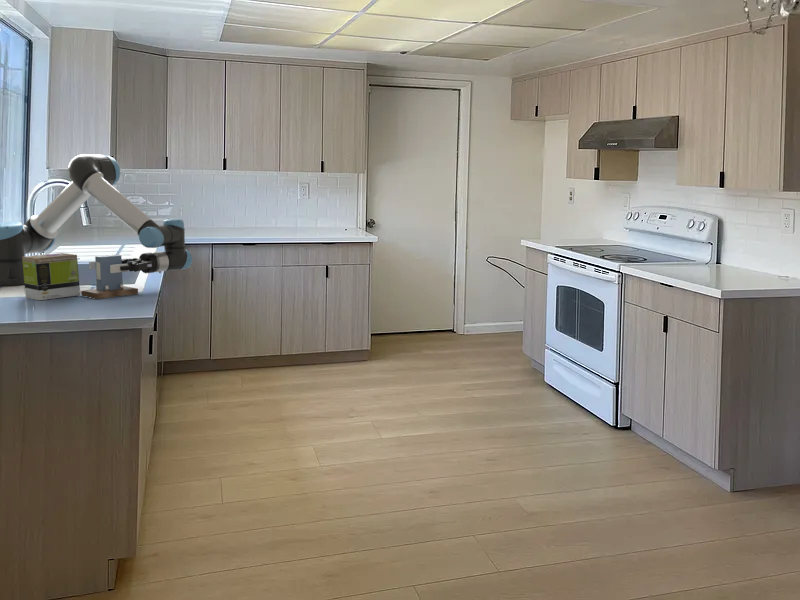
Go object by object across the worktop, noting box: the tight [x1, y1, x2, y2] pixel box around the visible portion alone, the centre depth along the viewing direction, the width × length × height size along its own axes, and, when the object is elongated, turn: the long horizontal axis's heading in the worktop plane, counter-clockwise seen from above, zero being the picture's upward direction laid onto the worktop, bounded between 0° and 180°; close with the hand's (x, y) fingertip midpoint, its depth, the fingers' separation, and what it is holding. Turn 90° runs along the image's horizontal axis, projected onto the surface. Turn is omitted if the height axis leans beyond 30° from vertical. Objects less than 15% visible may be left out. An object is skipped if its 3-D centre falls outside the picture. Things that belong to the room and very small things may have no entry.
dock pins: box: [95, 283, 124, 292], centre depth 272 cm, size 7×7×2 cm
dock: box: [80, 285, 139, 300], centre depth 273 cm, size 16×10×2 cm, turn 141°
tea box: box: [22, 252, 81, 301], centre depth 266 cm, size 15×10×15 cm
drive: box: [94, 254, 124, 291], centre depth 272 cm, size 8×4×12 cm, turn 141°
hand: (100, 267), depth 269 cm, fingers open, 13 cm apart
